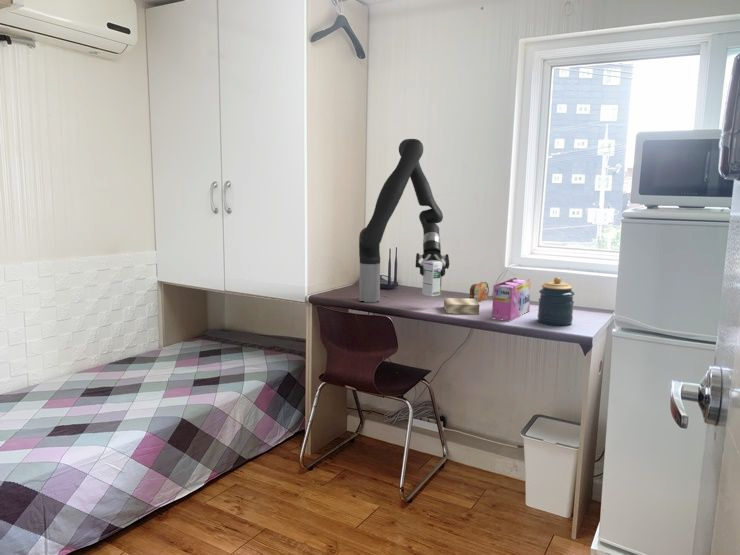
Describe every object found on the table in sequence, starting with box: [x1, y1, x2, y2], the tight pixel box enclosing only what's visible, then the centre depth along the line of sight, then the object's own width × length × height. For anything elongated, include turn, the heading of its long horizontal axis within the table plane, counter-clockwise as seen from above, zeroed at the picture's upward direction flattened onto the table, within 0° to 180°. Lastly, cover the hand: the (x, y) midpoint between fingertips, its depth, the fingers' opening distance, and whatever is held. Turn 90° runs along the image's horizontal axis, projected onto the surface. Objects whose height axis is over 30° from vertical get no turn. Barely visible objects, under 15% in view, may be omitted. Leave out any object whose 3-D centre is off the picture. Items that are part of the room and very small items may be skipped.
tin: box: [469, 281, 490, 303], centre depth 254 cm, size 15×3×8 cm, turn 143°
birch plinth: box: [443, 297, 480, 315], centre depth 233 cm, size 13×13×4 cm
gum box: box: [491, 277, 531, 321], centre depth 226 cm, size 24×8×14 cm, turn 145°
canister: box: [537, 276, 575, 326], centre depth 214 cm, size 13×13×18 cm
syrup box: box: [421, 260, 443, 297], centre depth 234 cm, size 6×6×14 cm
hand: (432, 275), depth 233 cm, fingers closed on syrup box, 8 cm apart
